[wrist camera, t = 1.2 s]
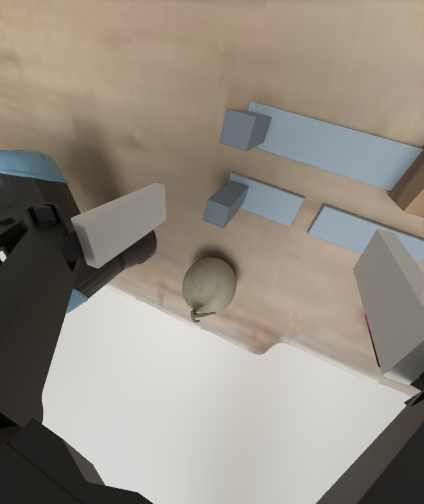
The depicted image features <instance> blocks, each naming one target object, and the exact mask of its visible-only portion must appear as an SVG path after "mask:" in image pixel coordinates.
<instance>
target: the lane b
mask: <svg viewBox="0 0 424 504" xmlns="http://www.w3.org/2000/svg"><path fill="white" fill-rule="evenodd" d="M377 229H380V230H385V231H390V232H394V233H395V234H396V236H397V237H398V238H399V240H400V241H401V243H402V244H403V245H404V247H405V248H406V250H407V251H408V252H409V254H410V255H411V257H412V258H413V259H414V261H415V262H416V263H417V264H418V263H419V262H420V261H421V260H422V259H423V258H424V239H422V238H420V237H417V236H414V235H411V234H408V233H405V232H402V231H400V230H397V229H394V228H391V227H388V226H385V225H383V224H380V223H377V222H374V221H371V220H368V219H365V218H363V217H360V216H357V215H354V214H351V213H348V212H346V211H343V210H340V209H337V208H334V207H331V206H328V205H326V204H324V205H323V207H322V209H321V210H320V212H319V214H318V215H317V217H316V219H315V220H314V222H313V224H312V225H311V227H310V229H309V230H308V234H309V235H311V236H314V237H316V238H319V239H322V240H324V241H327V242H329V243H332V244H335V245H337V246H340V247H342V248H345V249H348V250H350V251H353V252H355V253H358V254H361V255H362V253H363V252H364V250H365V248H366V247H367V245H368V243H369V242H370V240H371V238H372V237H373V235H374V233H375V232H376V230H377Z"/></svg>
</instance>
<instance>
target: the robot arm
mask: <svg viewBox="0 0 424 504" xmlns="http://www.w3.org/2000/svg"><path fill="white" fill-rule="evenodd" d="M67 183H68V182H67V180H65V179H64V177H63V175H62V174H61V172H60V170H59V168H58V166H57V164H56V162H55V161H54V160H53V159H52V158H51V157H50V156H49V155H47V154H45V153H42V152H38V151H22V150H0V251H3V252H4V254H5V255H6V257H7V258H6V259H5V261H4V262H2V261H1V260H0V504H153V503H152V502H150V501H149V500H148V499H146V498H145V497H143V496H142V495H141V494H139V493H138V492H133V491H129V490H124V489H119V488H114V487H109V486H105V484H104V482H103V481H102V479H101V477H100V476H99V474H98V473H97V471H96V469H95V467H94V466H93V464H92V463H90V462H89V461H88V460H87V459H86V458H84V457H83V456H82V455H81V454H80V453H79V452H77V451H76V450H75V449H74V448H72V447H71V446H70V445H69V444H68V443H67V442H66V441H64V440H63V439H62V438H60V437H59V436H58V435H56V434H55V433H53V432H52V431H51V430H49V429H48V428H46V427H45V426H44V425H42V421H43V405H42V391H43V388H44V384H45V381H46V378H47V374H48V371H49V367H50V364H51V361H52V358H53V354H54V351H55V348H56V344H57V341H58V337H59V334H60V331H61V328H62V324H63V321H64V318H65V314H66V313H68V312H70V311H72V310H73V309H75V308H76V307H78V306H79V305H81V304H82V303H84V302H86V301H87V300H88V298H90V297H91V296H92V295H93V294H95V293H96V292H97V291H98V290H100V289H101V288H102V287H103V286H104V285H106V284H107V283H108V282H109V281H111V280H112V279H113V278H114V277H115V276H117V275H118V274H119V273H120V272H122V271H123V270H124V269H126V268H129V267H132V266H134V265H136V264H141V263H143V262H145V261H147V260H148V259H149V258H150V257H151V256H152V255H153V254H154V252H155V250H156V238H155V235H154V232H153V229H155V228H156V227H158V226H159V225H160V224H162V223H163V222H165V221H166V220H167V219H166V203H165V187H164V184H159V183H153V184H151V185H148V186H146V187H144V188H141V189H139V190H136V191H134V192H132V193H129V194H127V195H125V196H122V197H120V198H117V199H115V200H113V201H110V202H108V203H105V204H103V205H101V206H98V207H96V208H93V209H91V210H89V211H86V212H84V213H82V214H81V213H80V211H79V209H78V206H77V204H76V202H75V200H74V198H73V196H72V194H71V192H70V190H69V187H68V185H67ZM353 270H354V274H355V277H356V281H357V285H358V288H359V292H360V295H361V299H362V303H363V306H364V310H365V313H366V317H367V321H368V324H369V328H370V332H371V335H372V339H373V342H374V346H375V350H376V353H377V357H378V360H379V364H380V368H381V371H382V375H383V376H385V377H388V378H390V379H393V380H395V381H398V382H401V383H403V384H406V385H409V384H411V383H412V382H413V381H415V380H416V379H418V378H419V377H420V378H421V380H422V383H423V385H424V273H423V272H422V270H421V269H420V268H419V266H418V265H417V263H416V262H415V261H414V259H413V258H412V257H411V255H410V254H409V252H408V251H407V250H406V248H405V247H404V245H403V244H402V243H401V241H400V240H399V238H398V237H397V236H396V234H395V233H394V232H390V231H385V230H380V229H377V230H376V232H375V233H374V235H373V237H372V238H371V240H370V242H369V243H368V245H367V247H366V248H365V250H364V252H363V253H362V255H361V257H360V258H359V260H358V262H357V263H356V265H355V267H354V268H353ZM404 403H405V404H406V405H407V406H406V407H405V408H404V409H403V410H402V411H401V412H400V413H399V415H398V416H397V417H396V418H395V419H394V420H393V421H392V422H391V423H390V424H389V425H388V426H387V427H386V429H385V430H384V431H383V432H382V433H381V434H380V435H379V436H378V437H377V438H376V439H375V440H374V442H373V443H372V444H371V445H370V446H369V447H368V448H367V449H366V450H365V451H364V452H363V453H362V454H361V455H360V457H359V458H358V459H357V460H356V461H355V462H354V463H353V464H352V465H351V466H350V467H349V468H348V470H347V471H346V472H345V473H344V474H343V475H342V476H341V477H340V478H339V479H338V481H336V483H335V484H334V485H333V486H332V487H331V488H330V489H329V490H328V491H327V492H326V493H325V495H323V497H322V498H321V499H320V500H319V501H318V502H317V503H316V504H424V390H423V391H421V392H420V393H418V394H416V395H415V396H413V397H412V398H411V399H409V400H407V401H406V402H404Z"/></svg>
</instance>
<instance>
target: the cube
mask: <svg viewBox="0 0 424 504" xmlns="http://www.w3.org/2000/svg"><path fill="white" fill-rule="evenodd" d="M388 195H389V197H390V198H391V199H392V200H393V201H394V202H395V203H396V204H397V205H398V206H399V207H400V208H401V209H402V210H403V211H404V212H407V213H410V214H413V215H416V216H419V217H422V218H424V149H423V151H422V152H421V153H420V154H419V156H418V157H417V158H416V160H415V161H414V162H413V163H412V165H411V166H410V167H409V168H408V170H407V171H406V172H405V174H404V175H403V176H402V177H401V179H400V180H399V181H398V182H397V184H396V185H395V186H394V188H393V189H392V190H391V191H390V193H389V194H388Z"/></svg>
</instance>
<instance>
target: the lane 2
mask: <svg viewBox="0 0 424 504" xmlns="http://www.w3.org/2000/svg"><path fill="white" fill-rule="evenodd" d="M220 143H222V144H225V145H228V146H231V147H234V148H237V149H241V150H244V151H247V150H249V149H251V148H253V147H255V148H258V149H261V150H264V151H267V152H270V153H273V154H276V155H280V156H283V157H286V158H289V159H292V160H295V161H298V162H301V163H304V164H308V165H311V166H314V167H317V168H320V169H323V170H326V171H329V172H333V173H336V174H339V175H342V176H345V177H348V178H351V179H354V180H358V181H361V182H364V183H367V184H370V185H373V186H376V187H379V188H382V189H386V190H389V191H391V190H392V189H393V188H394V186H395V185H396V184H397V182H398V181H399V180H400V179H401V177H402V176H403V175H404V174H405V172H406V171H407V170H408V168H409V167H410V166H411V165H412V163H413V162H414V161H415V160H416V158H417V157H418V156H419V154H420V153H421V152H422V151H423V149H421V148H417V147H414V146H410V145H407V144H403V143H399V142H396V141H392V140H388V139H385V138H381V137H378V136H374V135H370V134H367V133H363V132H360V131H356V130H352V129H349V128H345V127H342V126H338V125H334V124H331V123H327V122H324V121H320V120H316V119H313V118H309V117H305V116H302V115H298V114H295V113H291V112H287V111H284V110H280V109H277V108H273V107H269V106H266V105H262V104H259V103H255V102H251V101H250V103H249V107H248V110H247V111H244V110H234V109H227V110H226V115H225V119H224V124H223V129H222V133H221V138H220Z"/></svg>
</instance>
